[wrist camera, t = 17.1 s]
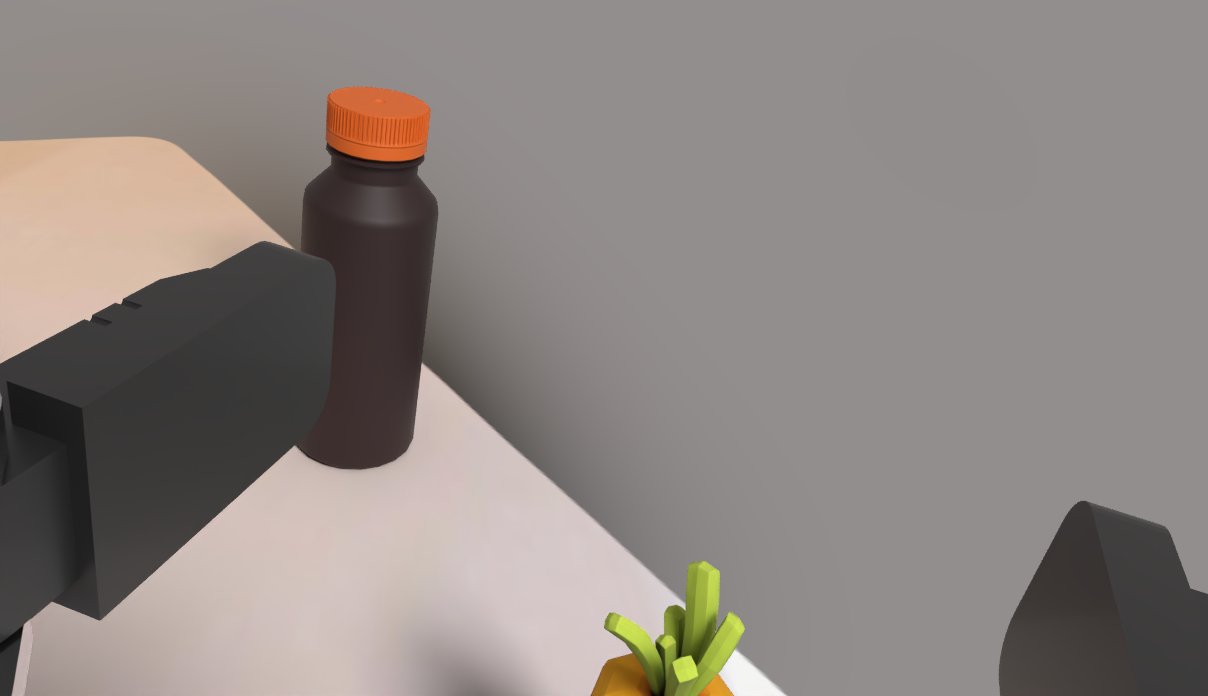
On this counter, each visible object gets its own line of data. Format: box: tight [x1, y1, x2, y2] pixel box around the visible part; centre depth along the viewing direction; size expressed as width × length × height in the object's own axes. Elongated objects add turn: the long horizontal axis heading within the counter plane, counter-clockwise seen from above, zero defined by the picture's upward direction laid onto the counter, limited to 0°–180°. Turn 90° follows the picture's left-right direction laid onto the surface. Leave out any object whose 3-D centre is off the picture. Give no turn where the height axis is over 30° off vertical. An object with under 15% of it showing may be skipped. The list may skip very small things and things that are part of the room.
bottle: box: [298, 87, 438, 469], centre depth 52 cm, size 7×7×20 cm
